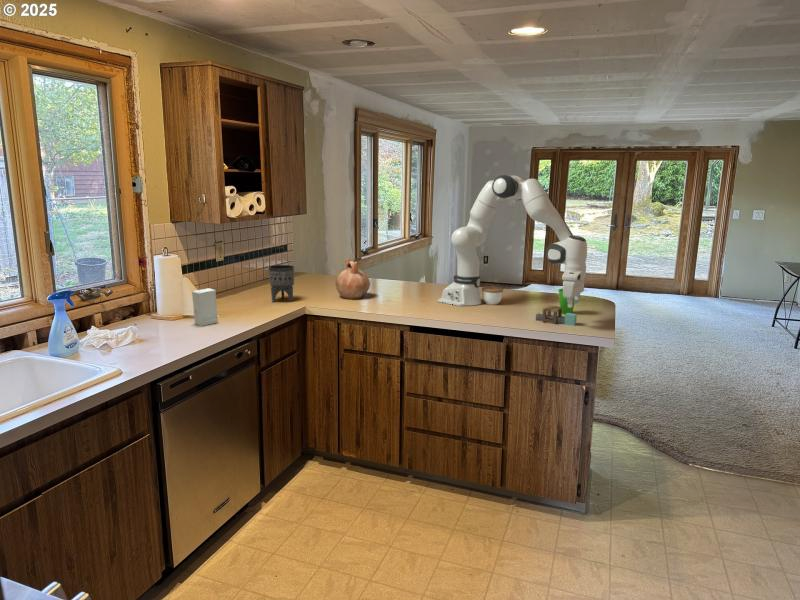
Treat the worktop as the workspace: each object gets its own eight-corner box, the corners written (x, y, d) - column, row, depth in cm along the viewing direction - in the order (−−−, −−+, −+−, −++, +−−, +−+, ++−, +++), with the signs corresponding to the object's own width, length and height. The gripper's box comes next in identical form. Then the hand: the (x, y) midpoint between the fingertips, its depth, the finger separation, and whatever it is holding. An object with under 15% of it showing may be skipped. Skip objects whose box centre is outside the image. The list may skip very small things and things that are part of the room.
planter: (277, 304, 282) (275, 269, 278) (265, 300, 292) (263, 266, 288) (300, 301, 290) (299, 267, 286) (287, 297, 300) (286, 264, 296)
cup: (561, 310, 274) (562, 287, 272) (579, 312, 269) (581, 290, 266) (553, 313, 268) (554, 290, 265) (571, 316, 262) (573, 293, 260)
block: (564, 324, 247) (565, 314, 246) (566, 322, 251) (567, 312, 250) (573, 325, 246) (574, 315, 245) (576, 323, 249) (576, 313, 248)
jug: (374, 299, 296) (374, 261, 292) (341, 301, 290) (340, 263, 285) (363, 292, 313) (363, 256, 309) (332, 294, 306) (331, 258, 302)
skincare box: (211, 320, 250) (209, 287, 247) (218, 323, 246) (216, 289, 243) (193, 324, 244) (191, 290, 241) (200, 326, 240) (198, 292, 237)
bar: (535, 321, 254) (535, 314, 254) (537, 319, 257) (537, 313, 256) (564, 324, 248) (565, 318, 247) (566, 323, 250) (566, 316, 250)
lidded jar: (497, 306, 281) (498, 288, 279) (477, 304, 286) (478, 285, 284) (505, 302, 290) (506, 284, 288) (486, 300, 295) (487, 282, 293)
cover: (542, 322, 251) (543, 308, 250) (548, 318, 258) (548, 305, 257) (555, 324, 248) (556, 310, 247) (561, 320, 255) (562, 306, 253)
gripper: (574, 270, 254) (572, 300, 257) (560, 276, 237) (559, 308, 240) (588, 271, 251) (586, 301, 254) (576, 277, 234) (574, 310, 237)
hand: (573, 305), depth 247 cm, fingers open, 8 cm apart
